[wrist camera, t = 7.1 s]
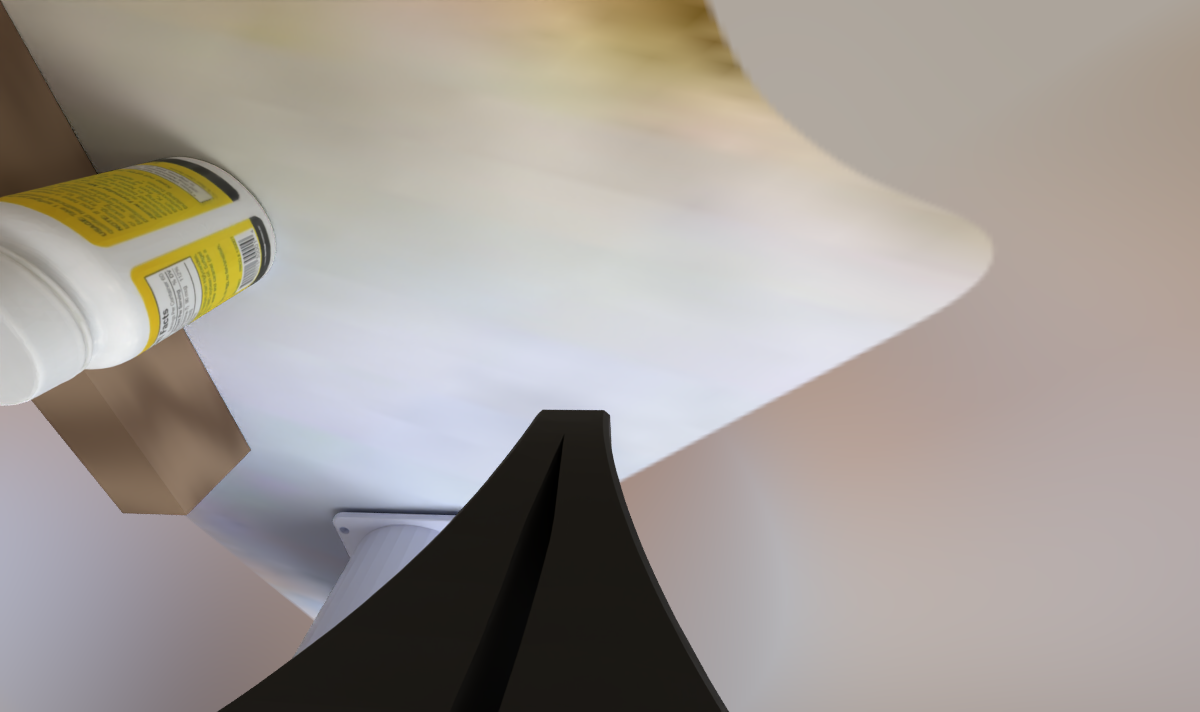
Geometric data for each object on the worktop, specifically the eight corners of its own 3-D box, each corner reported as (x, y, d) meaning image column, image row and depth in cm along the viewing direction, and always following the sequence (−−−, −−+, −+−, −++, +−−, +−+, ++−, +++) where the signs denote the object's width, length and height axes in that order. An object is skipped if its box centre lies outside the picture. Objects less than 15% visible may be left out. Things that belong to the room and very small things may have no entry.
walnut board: (250, 450, 24) (186, 515, 21) (194, 449, 25) (122, 513, 21) (-105, -187, 13) (-374, -272, 9) (-202, -175, 13) (-498, -254, 10)
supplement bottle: (118, 181, 18) (-239, 271, 10) (217, 134, 16) (-108, 198, 9) (213, 298, 20) (-28, 437, 13) (307, 263, 19) (99, 395, 12)
